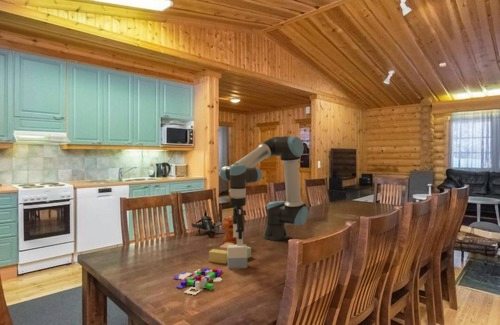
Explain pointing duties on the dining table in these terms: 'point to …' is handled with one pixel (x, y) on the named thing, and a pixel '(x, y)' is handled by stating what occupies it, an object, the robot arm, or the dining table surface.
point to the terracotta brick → (225, 246)
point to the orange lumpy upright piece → (229, 231)
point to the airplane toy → (206, 224)
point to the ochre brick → (218, 256)
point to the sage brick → (248, 252)
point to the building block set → (198, 279)
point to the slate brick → (237, 263)
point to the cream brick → (237, 251)
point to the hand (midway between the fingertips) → (237, 241)
